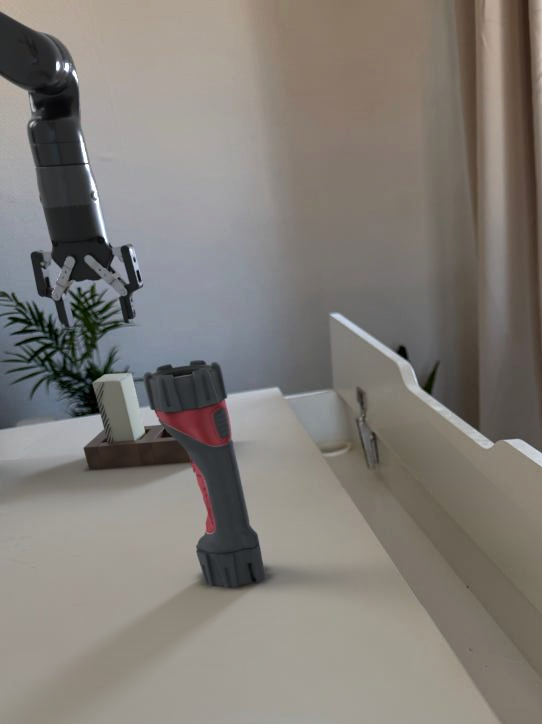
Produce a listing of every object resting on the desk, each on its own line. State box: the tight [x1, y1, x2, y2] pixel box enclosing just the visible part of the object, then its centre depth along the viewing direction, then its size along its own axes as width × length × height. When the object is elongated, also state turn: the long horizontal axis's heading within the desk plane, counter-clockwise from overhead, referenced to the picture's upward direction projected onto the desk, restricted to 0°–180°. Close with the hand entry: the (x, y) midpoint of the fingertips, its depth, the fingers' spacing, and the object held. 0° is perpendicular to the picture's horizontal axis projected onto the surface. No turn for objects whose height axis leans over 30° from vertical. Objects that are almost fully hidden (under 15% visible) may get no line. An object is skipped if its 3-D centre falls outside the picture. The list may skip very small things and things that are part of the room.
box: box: [92, 372, 146, 442], centre depth 147 cm, size 5×4×13 cm
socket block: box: [82, 424, 193, 471], centre depth 149 cm, size 18×10×4 cm, turn 92°
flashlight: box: [142, 359, 267, 589], centre depth 101 cm, size 8×8×23 cm
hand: (99, 324), depth 141 cm, fingers open, 8 cm apart
